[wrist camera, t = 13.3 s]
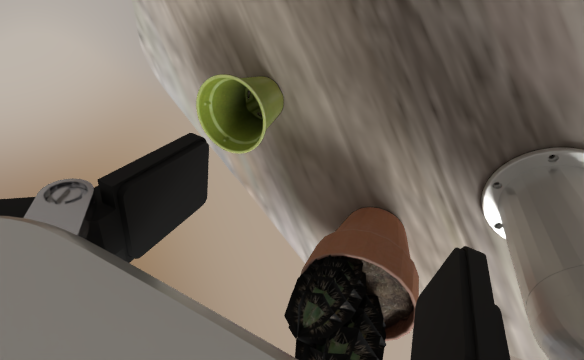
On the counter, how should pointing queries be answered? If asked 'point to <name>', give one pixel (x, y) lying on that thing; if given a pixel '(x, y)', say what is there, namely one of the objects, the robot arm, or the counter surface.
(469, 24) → the counter surface
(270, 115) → the plant pot
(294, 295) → the potted plant
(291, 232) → the counter surface
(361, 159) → the counter surface
